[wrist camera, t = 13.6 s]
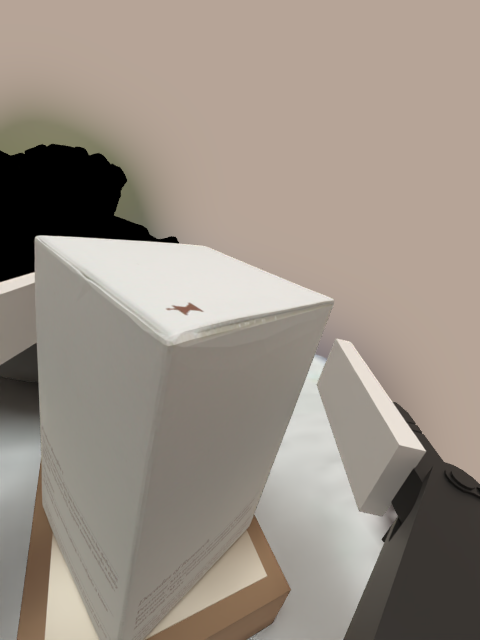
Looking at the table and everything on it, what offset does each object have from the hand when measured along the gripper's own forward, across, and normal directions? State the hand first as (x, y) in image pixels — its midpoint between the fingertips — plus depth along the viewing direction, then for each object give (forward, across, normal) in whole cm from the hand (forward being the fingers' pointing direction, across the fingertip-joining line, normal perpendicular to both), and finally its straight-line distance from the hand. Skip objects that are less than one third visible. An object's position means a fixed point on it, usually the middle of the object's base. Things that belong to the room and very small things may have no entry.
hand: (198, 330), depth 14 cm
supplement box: (-3, 0, -9) cm, 10 cm away
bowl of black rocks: (+11, -13, -12) cm, 21 cm away
